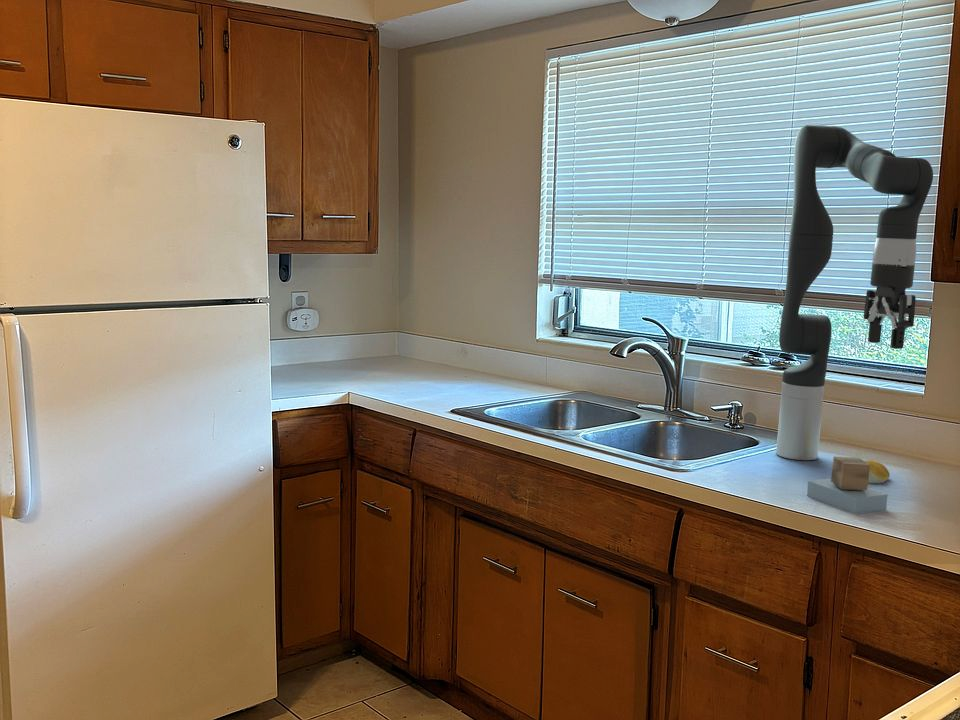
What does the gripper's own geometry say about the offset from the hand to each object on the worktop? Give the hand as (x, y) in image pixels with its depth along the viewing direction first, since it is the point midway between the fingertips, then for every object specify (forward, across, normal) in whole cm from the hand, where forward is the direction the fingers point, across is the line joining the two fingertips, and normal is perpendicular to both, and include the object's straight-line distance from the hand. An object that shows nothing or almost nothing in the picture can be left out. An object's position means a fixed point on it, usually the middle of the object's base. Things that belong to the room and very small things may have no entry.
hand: (884, 345), depth 175 cm
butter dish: (+31, +6, -8) cm, 32 cm away
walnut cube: (+27, +6, -8) cm, 28 cm away
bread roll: (+31, -12, +6) cm, 33 cm away
